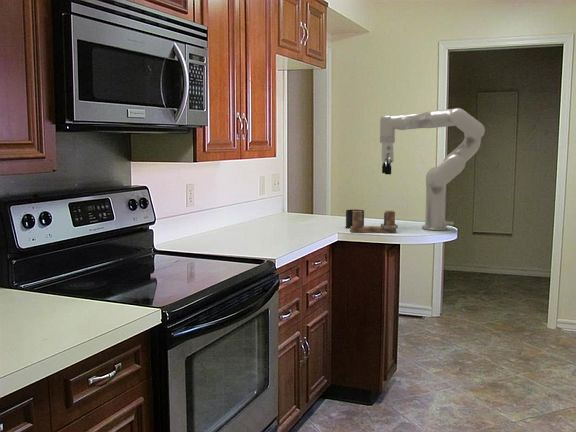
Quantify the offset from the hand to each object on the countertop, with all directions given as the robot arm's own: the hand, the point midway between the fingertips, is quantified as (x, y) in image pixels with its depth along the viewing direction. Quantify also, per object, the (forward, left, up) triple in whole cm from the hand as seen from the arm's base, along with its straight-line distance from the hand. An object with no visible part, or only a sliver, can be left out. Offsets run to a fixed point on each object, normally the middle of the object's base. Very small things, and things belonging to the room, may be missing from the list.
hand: (386, 173), depth 319 cm
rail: (+8, +13, -28) cm, 32 cm away
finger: (0, +12, -26) cm, 29 cm away
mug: (+15, -3, -28) cm, 32 cm away
